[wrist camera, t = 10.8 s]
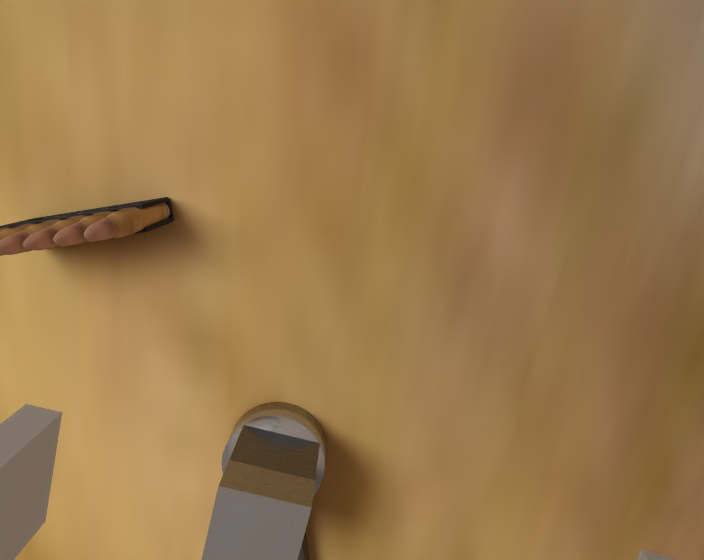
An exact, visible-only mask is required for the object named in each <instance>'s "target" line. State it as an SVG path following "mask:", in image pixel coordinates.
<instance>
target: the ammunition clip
mask: <svg viewBox="0 0 704 560" xmlns="http://www.w3.org/2000/svg"><path fill="white" fill-rule="evenodd" d="M173 221H174V218H173V213H172V209H171V205H170V200H169V198H168V197H165V198H159V199H152V200H146V201H140V202H134V203H127V204H121V205H115V206H108V207H102V208H96V209H90V210H83V211H77V212H71V213H65V214H58V215H52V216H46V217H40V218H33V219H29V220H25V221H20V222H16V223H12V224H7V225H3V226H0V256H1V255H12V254H18V253H23V252H27V251H32V250H43V249H49V248H53V247H58V246H69V245H75V244H80V243H85V242H95V241H100V240H107V239H110V238H115V237H117V238H120V237H125V236H128V235H131V234H136V233H142V232H147V231H150V230H152V229H155V228H157V227H160V226H163V225H165V224H168V223H170V222H173Z"/></svg>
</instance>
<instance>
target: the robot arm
mask: <svg viewBox="0 0 704 560" xmlns="http://www.w3.org/2000/svg"><path fill="white" fill-rule="evenodd" d="M61 416H62V412H58V411H54V410H50V409H45V408H41V407H37V406H33V405H29V404H26V405H24V406H23V407H22V408H21V409H19V410H18V411H17V412H15V413H14V414H13V415H12V416H10V417H9V418H8V419H6V420H5V421H4V422H3V423H1V424H0V560H14V559H15V557H16V556H17V555H18V554H19V553H20V551H21V550H22V549H23V548H24V547H25V545H26V544H27V543H28V542H29V541H30V539H31V538H32V537H33V536H34V535H35V533H36V532H37V531H38V530H39V529H40V527H41V526H42V525H43V524H44V522H45V520H46V514H47V507H48V501H49V494H50V488H51V481H52V474H53V468H54V461H55V455H56V448H57V442H58V435H59V429H60V422H61ZM637 560H675V559H674V557H670V556H666V555H662V554H658V553H653V552H649V551H645V550H641V551H640V554H639V556H638V558H637Z"/></svg>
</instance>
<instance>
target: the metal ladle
mask: <svg viewBox="0 0 704 560" xmlns="http://www.w3.org/2000/svg"><path fill="white" fill-rule="evenodd" d="M243 425H247V426H251V427H255V428H259V429H263V430H267V431H272V432H276V433H280V434H284V435H288V436H293V437H297V438H301V439H305V440H309V441H314V442H318V443H320V447H319V455H318V463H317V471H316V479H315V487H314V495H315V494H316V492H317V491H318V489H319V488H320V486H321V483H322V481H323V477H324V471H325V461H326V452H327V443H326V437H325V434H324V431H323V429H322V428H321V426H320V424H319V423H318V421H317V420H316V419H315V418H314V417H313V416H312V415H311V414H310V413H308V412H307V411H305V410H304V409H302V408H300V407H298V406H295V405H292V404H288V403H282V402H271V403H265V404H262V405H259V406H256V407H254V408H252V409H250V410H249V411H247V412H246V413H245V414H244V415H243V416H242V417H241V418H240V419H239V420H238V422H237V423H236V425H235V427H234V429H233V431H232V433H231V435H230V438H229V440H228V442H227V445H226V447H225V450H224V452H223V457H222V472H223V474H224V472H225V469H226V467H227V464H228V462H229V459H230V457H231V454H232V452H233V449H234V447H235V445H236V442H237V440H238V437H239V435H240V432H241V430H242V427H243ZM314 495H313V496H314ZM298 560H309V556H308V548H307V540H306V533H305V534H304V538H303V542H302V545H301V549H300V552H299V556H298Z"/></svg>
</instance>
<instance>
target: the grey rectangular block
mask: <svg viewBox="0 0 704 560" xmlns="http://www.w3.org/2000/svg"><path fill="white" fill-rule="evenodd" d="M319 447H320V443H318V442H314V441H309V440H305V439H301V438H297V437H293V436H288V435H284V434H280V433H276V432H272V431H267V430H263V429H259V428H255V427H251V426H247V425H243V427H242V430H241V432H240V435H239V437H238V440H237V442H236V445H235V447H234V449H233V452H232V454H231V457H230V459H229V462H228V464H227V467H226V469H225V472H224V474H223V476H222V479H221V481H220V484H219V487H218V491H217V495H216V500H215V504H214V508H213V513H212V517H211V521H210V526H209V530H208V534H207V539H206V543H205V548H204V552H203V556H202V560H298V556H299V552H300V549H301V545H302V542H303V538H304V534H305V531H306V527H307V523H308V520H309V516H310V512H311V509H312V502H313V495H314V487H315V479H316V471H317V463H318V455H319Z"/></svg>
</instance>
